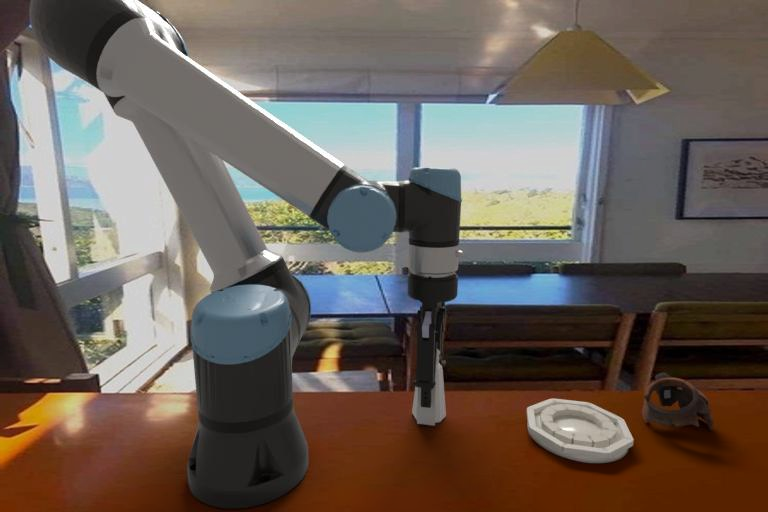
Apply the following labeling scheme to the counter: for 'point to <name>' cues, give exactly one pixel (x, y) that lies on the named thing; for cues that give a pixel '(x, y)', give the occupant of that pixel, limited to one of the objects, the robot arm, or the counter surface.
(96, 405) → the counter surface
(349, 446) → the counter surface
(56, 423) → the counter surface
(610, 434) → the dish
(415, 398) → the pepper shaker
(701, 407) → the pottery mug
